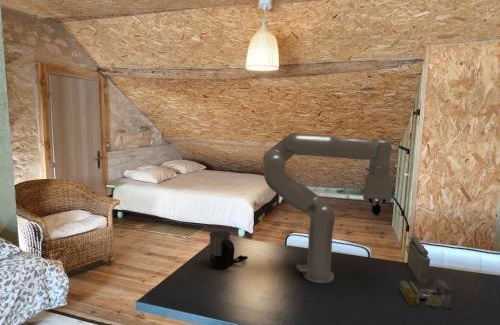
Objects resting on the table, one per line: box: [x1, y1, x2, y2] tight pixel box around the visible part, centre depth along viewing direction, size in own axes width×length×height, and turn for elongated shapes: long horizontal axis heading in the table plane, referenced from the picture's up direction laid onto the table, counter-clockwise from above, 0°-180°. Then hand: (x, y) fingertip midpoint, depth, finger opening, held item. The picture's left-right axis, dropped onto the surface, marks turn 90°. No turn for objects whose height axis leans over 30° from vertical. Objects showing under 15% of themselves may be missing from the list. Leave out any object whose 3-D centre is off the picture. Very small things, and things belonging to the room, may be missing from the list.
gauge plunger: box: [408, 281, 440, 307], centre depth 121 cm, size 11×10×4 cm
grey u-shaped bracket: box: [419, 276, 453, 309], centre depth 122 cm, size 8×9×7 cm
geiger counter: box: [405, 235, 431, 285], centre depth 145 cm, size 14×6×25 cm
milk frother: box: [209, 230, 248, 271], centre depth 148 cm, size 14×16×15 cm
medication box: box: [398, 279, 417, 307], centre depth 124 cm, size 12×3×4 cm, turn 172°
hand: (375, 214), depth 136 cm, fingers closed
